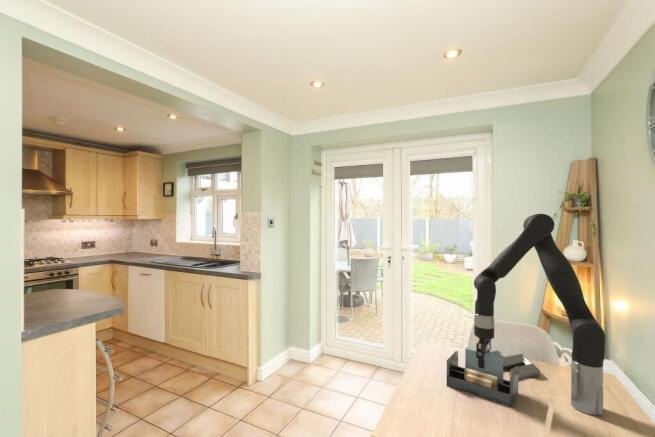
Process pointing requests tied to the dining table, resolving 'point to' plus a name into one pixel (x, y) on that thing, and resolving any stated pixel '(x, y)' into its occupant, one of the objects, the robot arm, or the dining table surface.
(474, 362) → the blue sheet
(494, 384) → the offcut long
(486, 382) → the offcut short
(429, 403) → the dining table surface
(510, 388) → the rack
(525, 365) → the emblem
